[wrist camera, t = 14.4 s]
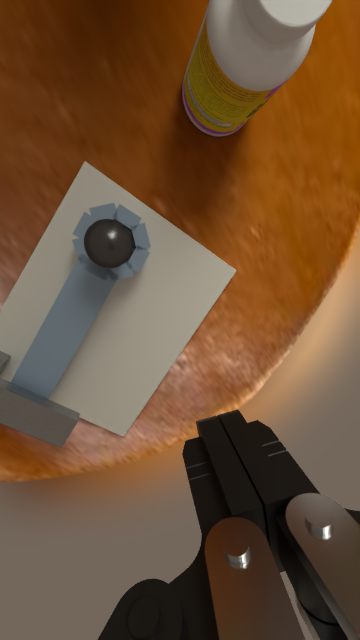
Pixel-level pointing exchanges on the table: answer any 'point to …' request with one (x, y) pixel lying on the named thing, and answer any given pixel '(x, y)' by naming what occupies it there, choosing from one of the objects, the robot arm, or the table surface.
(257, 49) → the supplement bottle
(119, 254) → the knob
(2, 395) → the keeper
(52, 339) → the link
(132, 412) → the board
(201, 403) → the table surface
